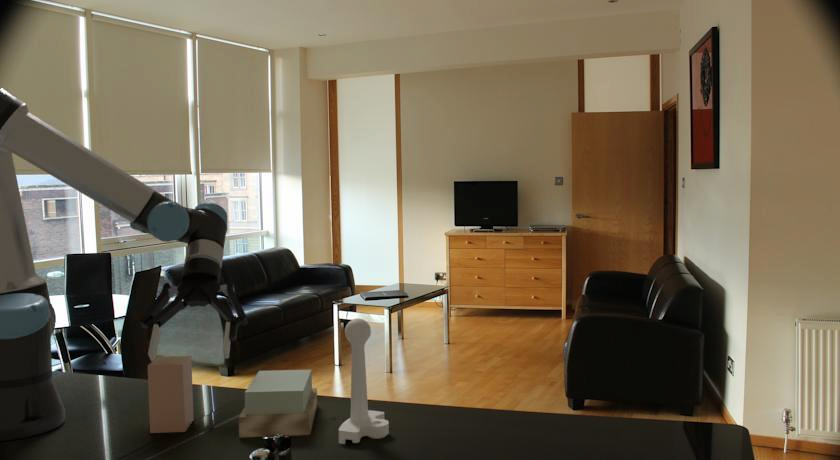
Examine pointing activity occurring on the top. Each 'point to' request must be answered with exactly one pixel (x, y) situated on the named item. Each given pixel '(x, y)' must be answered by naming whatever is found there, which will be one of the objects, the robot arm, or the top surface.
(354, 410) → the joystick
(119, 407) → the top surface
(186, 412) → the terracotta column
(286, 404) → the tower top
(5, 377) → the robot arm
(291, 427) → the tower base
